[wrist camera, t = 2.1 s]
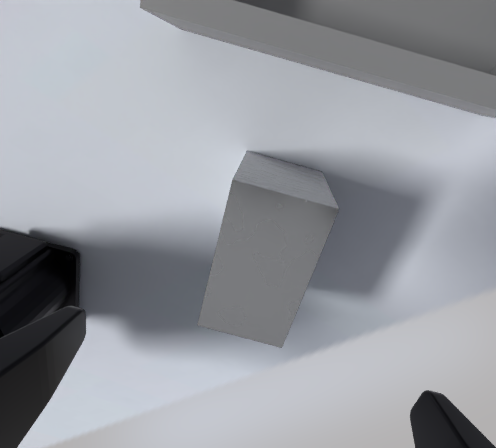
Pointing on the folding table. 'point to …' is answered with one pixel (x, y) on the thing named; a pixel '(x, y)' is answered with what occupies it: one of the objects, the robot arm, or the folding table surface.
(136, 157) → the folding table surface
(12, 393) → the robot arm
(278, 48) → the open box
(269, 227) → the grey bevelled block
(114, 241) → the folding table surface
